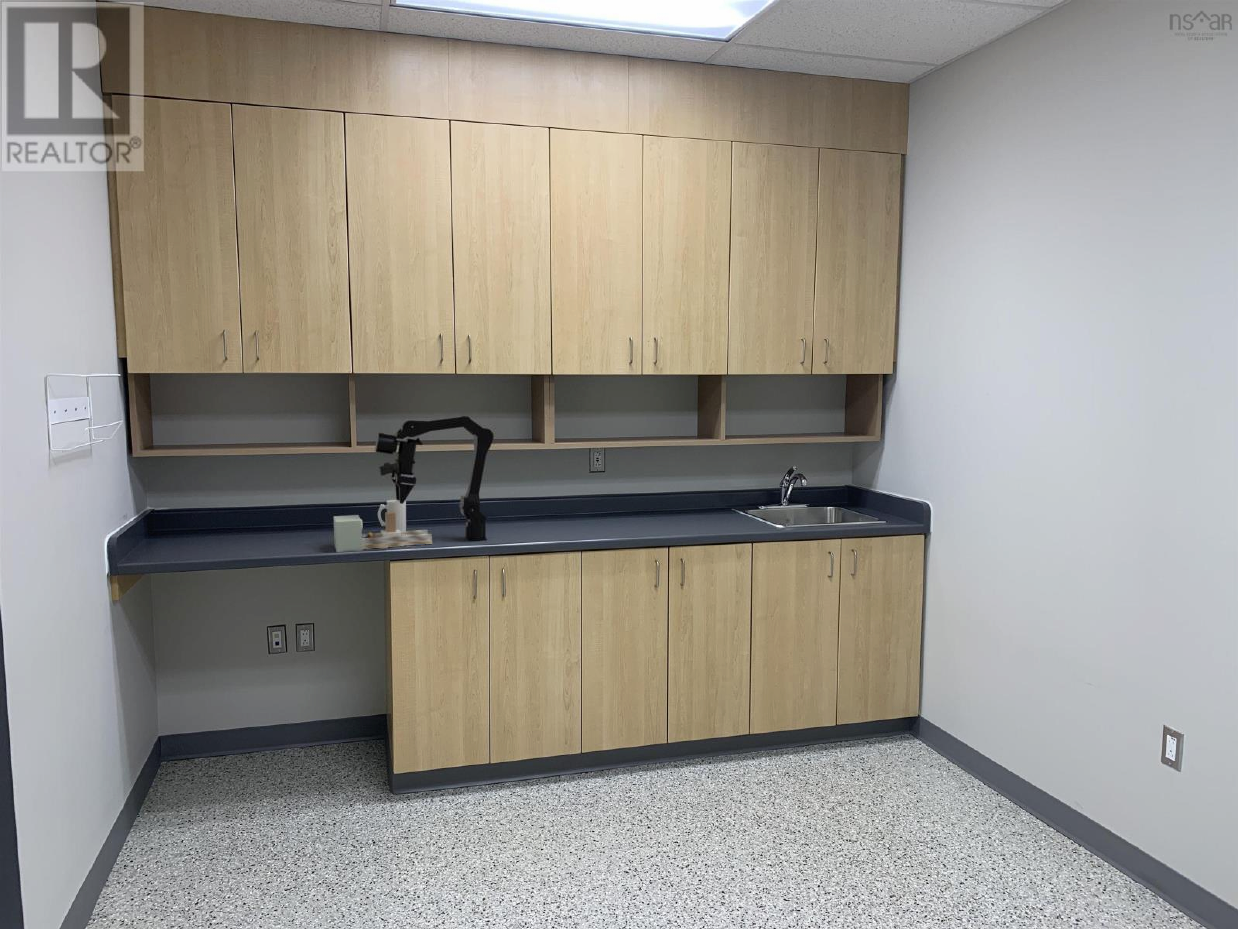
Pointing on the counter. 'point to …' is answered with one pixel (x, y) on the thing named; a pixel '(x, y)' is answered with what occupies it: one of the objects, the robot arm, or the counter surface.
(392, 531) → the brown post on base
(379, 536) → the patterned tray
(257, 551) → the counter surface
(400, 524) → the mug
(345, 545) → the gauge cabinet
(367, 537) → the button
